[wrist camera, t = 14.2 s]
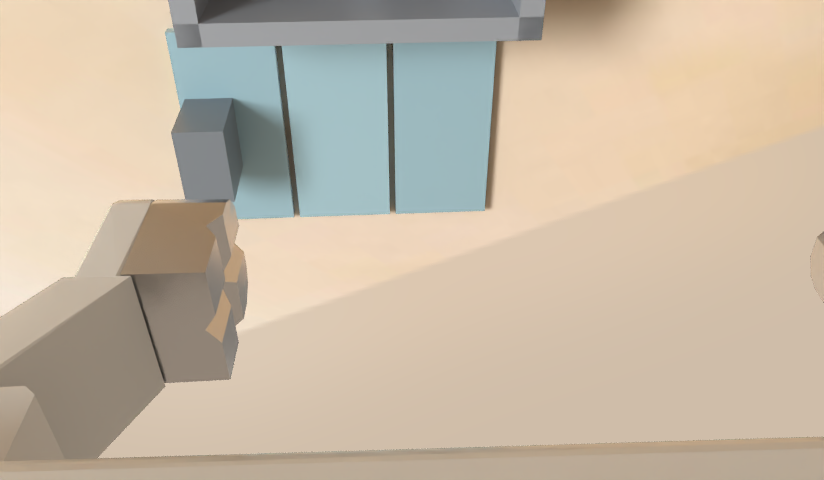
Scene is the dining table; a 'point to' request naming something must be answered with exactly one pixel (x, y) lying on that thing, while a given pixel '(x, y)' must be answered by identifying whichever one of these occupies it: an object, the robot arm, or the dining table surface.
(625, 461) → the robot arm
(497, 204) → the dining table surface
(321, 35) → the tub
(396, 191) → the blue grooved panel
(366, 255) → the dining table surface
